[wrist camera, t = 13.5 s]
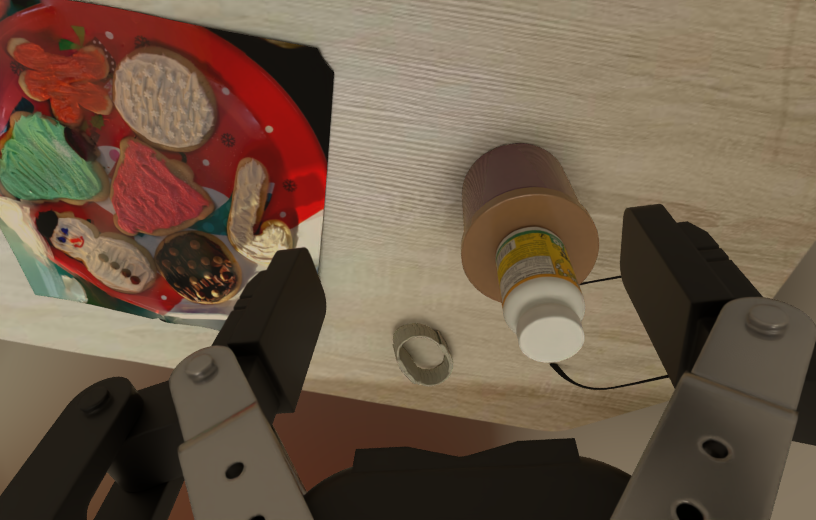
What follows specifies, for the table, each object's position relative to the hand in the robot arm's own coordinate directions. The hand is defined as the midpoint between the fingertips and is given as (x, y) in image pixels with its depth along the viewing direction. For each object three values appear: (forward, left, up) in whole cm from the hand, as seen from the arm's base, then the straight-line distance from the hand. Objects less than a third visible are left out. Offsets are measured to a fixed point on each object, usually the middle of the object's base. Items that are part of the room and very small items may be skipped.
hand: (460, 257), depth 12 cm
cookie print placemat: (+10, -32, -32) cm, 47 cm away
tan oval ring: (+34, -8, -32) cm, 48 cm away
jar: (+15, +4, -32) cm, 36 cm away
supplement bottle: (+15, +4, -22) cm, 26 cm away
